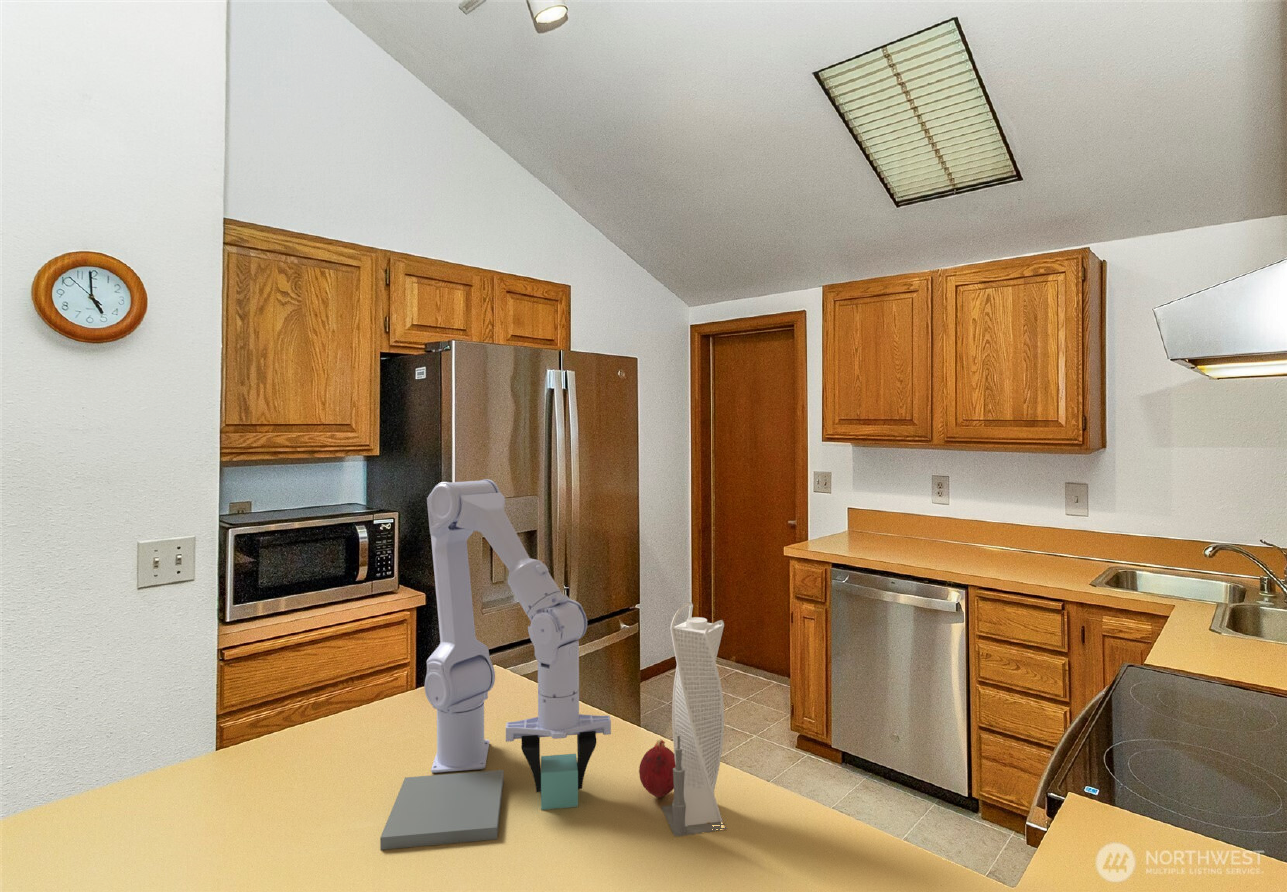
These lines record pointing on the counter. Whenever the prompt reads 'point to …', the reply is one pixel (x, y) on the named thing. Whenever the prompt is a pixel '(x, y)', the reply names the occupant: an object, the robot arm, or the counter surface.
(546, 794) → the cube
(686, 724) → the skyscraper
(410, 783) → the cutting board
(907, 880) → the counter surface
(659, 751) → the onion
